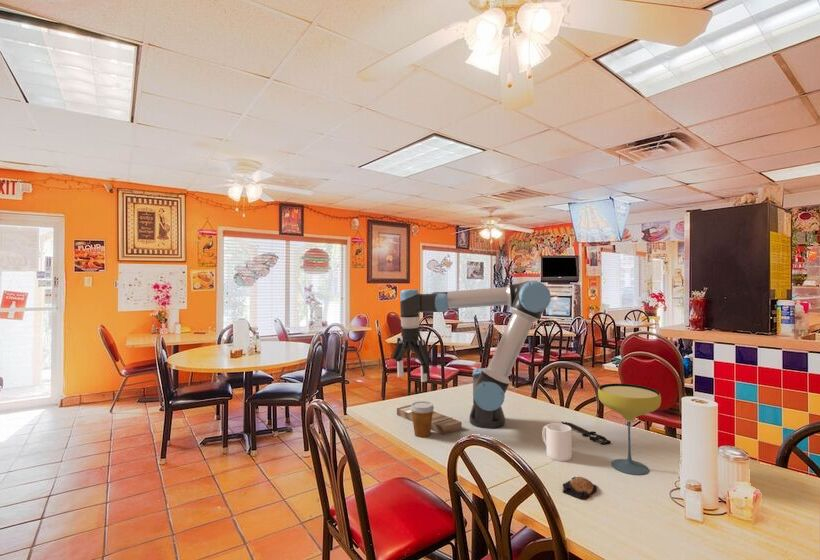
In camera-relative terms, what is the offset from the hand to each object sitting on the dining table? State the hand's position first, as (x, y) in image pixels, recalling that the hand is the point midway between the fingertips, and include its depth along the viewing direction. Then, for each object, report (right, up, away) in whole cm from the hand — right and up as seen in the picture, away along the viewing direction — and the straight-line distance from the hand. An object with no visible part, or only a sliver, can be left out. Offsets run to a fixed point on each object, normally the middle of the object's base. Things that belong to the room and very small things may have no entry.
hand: (412, 378), depth 169 cm
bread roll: (+49, -22, -48) cm, 72 cm away
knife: (+68, -21, -5) cm, 71 cm away
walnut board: (+7, -21, +11) cm, 25 cm away
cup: (+50, -21, -24) cm, 59 cm away
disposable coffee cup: (+4, -22, -4) cm, 22 cm away
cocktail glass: (+71, -21, -35) cm, 81 cm away
